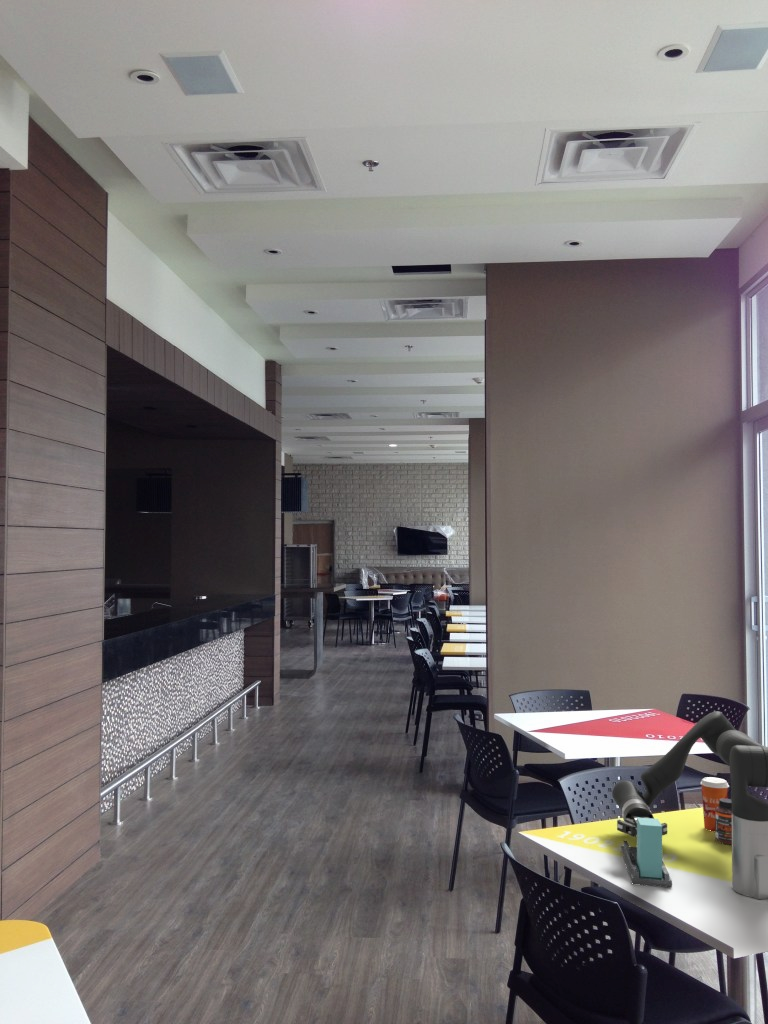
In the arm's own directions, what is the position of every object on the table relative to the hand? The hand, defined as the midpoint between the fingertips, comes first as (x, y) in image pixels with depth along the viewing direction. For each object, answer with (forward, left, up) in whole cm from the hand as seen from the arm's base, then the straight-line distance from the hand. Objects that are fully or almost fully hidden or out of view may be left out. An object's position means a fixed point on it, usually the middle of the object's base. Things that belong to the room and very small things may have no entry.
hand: (646, 838), depth 201 cm
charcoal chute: (+4, -2, -9) cm, 10 cm away
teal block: (-3, +1, -7) cm, 8 cm away
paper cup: (+24, -43, -9) cm, 50 cm away
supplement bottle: (+14, -38, -9) cm, 41 cm away
